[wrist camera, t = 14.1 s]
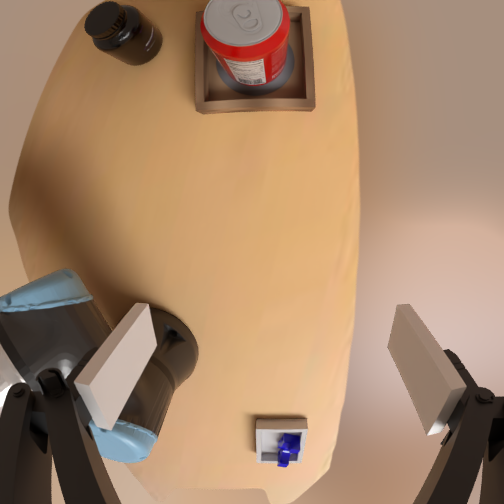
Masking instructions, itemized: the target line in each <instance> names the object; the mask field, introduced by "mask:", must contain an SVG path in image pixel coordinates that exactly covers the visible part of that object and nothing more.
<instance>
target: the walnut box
mask: <svg viewBox="0 0 504 504" xmlns="http://www.w3.org/2000/svg"><path fill="white" fill-rule="evenodd" d="M285 7H286V8H287V11H288V13H289V17H290V31H289V39H288V47H287V55H286V62H285V66H284V69H283V71H282V72H281V74H280V75H279V76H278V77H277V78H276V79H275V80H273V81H272V82H270V83H268V84H265V85H261V86H246V85H243V84H240V83H238V82H236V81H234V80H233V79H232V78H231V77H230V76H229V75H228V74H227V73H226V71H225V70H224V68H223V67H222V65H221V64H220V63H219V61H218V60H217V58H216V57H215V55H214V54H213V52H212V51H211V50H210V48H209V47H208V45H207V44H206V42H205V41H204V39H203V37H202V34H201V28H200V22H201V17H202V14H203V12H204V11H200V12H196V38H195V95H196V111H197V112H200V113H202V114H213V113H229V112H251V111H312V110H313V109H314V108H315V81H314V62H313V47H312V33H311V21H310V10H309V7H299V6H285Z"/></svg>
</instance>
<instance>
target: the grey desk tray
mask: <svg viewBox="0 0 504 504" xmlns="http://www.w3.org/2000/svg"><path fill="white" fill-rule="evenodd" d="M307 431H308V426H307V419H257V421H256V453H257V463H278V452H279V450H280V449H281V448H278V442H279V440H280V439H281V437H282V436H283V434H284V433H286V434H292V435H298V436H300V449H301V450H300V452H299V453H298V454H295V453H291V455H290V458H289V463H301V462H302V457H303V452H304V447H305V441H306V436H307Z"/></svg>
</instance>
